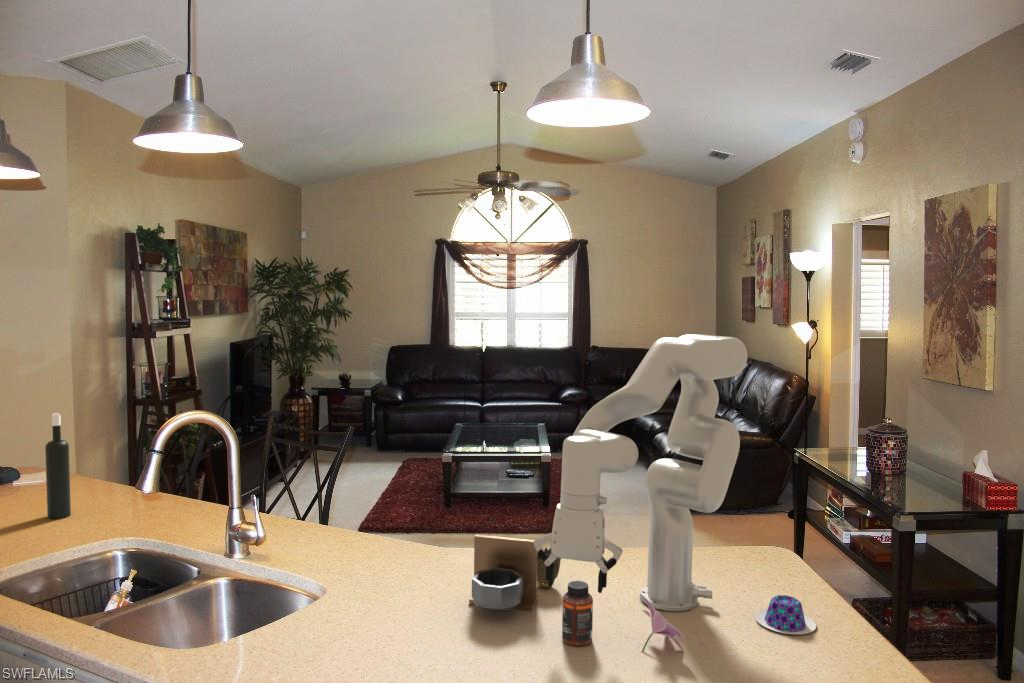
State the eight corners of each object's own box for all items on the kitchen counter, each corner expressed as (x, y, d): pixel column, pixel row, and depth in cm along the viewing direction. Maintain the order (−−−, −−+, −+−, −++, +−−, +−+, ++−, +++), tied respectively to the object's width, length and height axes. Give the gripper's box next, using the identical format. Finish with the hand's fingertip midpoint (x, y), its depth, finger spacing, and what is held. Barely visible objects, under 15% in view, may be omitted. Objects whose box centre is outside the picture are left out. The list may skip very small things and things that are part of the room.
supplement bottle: (598, 640, 148) (599, 584, 147) (579, 650, 144) (581, 593, 143) (574, 630, 152) (575, 575, 151) (555, 640, 148) (556, 584, 147)
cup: (558, 594, 169) (558, 559, 169) (525, 591, 171) (526, 557, 170) (562, 581, 177) (563, 548, 176) (531, 578, 178) (532, 545, 177)
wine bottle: (42, 518, 216) (39, 414, 213) (58, 512, 221) (54, 411, 219) (60, 519, 215) (57, 415, 212) (75, 513, 220) (72, 412, 218)
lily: (684, 674, 138) (703, 624, 140) (625, 645, 139) (645, 596, 141) (670, 662, 149) (688, 616, 151) (615, 636, 150) (634, 590, 152)
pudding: (746, 626, 156) (747, 601, 155) (765, 606, 165) (766, 583, 165) (806, 643, 149) (807, 618, 148) (823, 622, 158) (824, 598, 158)
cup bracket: (537, 600, 166) (539, 538, 165) (524, 628, 152) (525, 561, 151) (476, 593, 169) (477, 532, 168) (458, 620, 155) (458, 554, 154)
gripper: (626, 500, 147) (622, 585, 148) (539, 491, 151) (535, 575, 152) (623, 510, 140) (618, 600, 141) (532, 501, 144) (528, 588, 145)
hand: (575, 587), depth 146 cm, fingers open, 9 cm apart
